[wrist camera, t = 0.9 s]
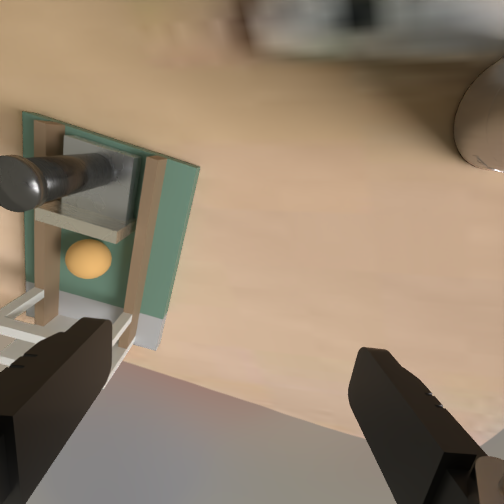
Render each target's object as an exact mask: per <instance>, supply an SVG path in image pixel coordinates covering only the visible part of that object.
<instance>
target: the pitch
mask: <svg viewBox="0 0 504 504" xmlns="http://www.w3.org/2000/svg"><path fill="white" fill-rule="evenodd" d="M22 121H23V157H24V158H30V157H44V156H57V155H63V147H64V135H76V136H79V137H83V138H86V139H89V140H92V141H95V142H98V143H101V144H104V145H107V146H110V147H113V148H116V149H119V150H123V151H126V152H129V153H132V154H135V155H138V156H141V157H142V159H141V166H140V173H139V180H138V187H137V194H136V201H135V208H134V215H133V218H137V224H136V230H135V231H134V232H133V233H131V234H130V235H128V236H127V237H125V238H124V239H122V240H121V241H120V242H118V243H117V244H114V243H110V242H107V241H104V240H100V239H97V238H94V237H90V236H87V235H84V234H80V233H77V232H74V231H70V230H67V229H63V228H60V227H57V226H53V225H50V224H47V223H43V222H40V221H37V220H35V209H32V210H28V211H25V212H24V223H25V274H26V293H24V294H23V295H21V296H20V297H18V298H17V299H15V300H13V301H12V302H10V303H9V304H7V305H6V306H4V307H2V308H1V309H0V334H1V335H6V336H9V337H13V338H16V340H14V341H13V342H12V343H10V344H9V345H8V346H7V347H5V348H4V349H3V350H2V351H0V363H1V364H4V365H8V366H10V364H11V363H13V362H14V361H15V360H16V359H18V358H19V357H20V356H23V355H24V353H25V352H27V351H28V350H29V349H30V348H32V347H33V346H34V345H35V344H37V343H38V342H39V341H41V340H43V339H45V338H47V337H49V336H52V335H54V334H56V333H58V332H65V331H67V330H68V329H69V328H70V327H71V326H72V325H74V324H75V323H76V322H77V321H78V320H79V319H81V318H83V317H90V318H99V319H109V320H111V322H112V366H111V371H110V374H109V377H108V380H107V382H106V384H107V383H108V382H109V380H110V379H111V377H112V376H113V374H114V372H115V371H116V369H117V368H118V366H119V365H120V363H121V362H122V360H123V359H124V357H125V356H126V354H127V352H128V351H129V349H130V348H131V346H132V345H137V346H140V347H144V348H148V349H151V350H155V351H156V350H157V348H158V346H159V344H160V341H161V337H162V333H163V328H164V324H165V319H166V315H167V311H168V306H169V302H170V298H171V293H172V289H173V284H174V280H175V276H176V271H177V267H178V262H179V258H180V254H181V249H182V245H183V241H184V236H185V232H186V227H187V223H188V219H189V214H190V210H191V205H192V201H193V197H194V192H195V188H196V184H197V179H198V175H199V170H200V167H199V166H196V165H193V164H190V163H187V162H184V161H181V160H178V159H175V158H172V157H169V156H166V155H163V154H160V153H156V152H153V151H150V150H147V149H144V148H141V147H138V146H135V145H132V144H129V143H126V142H123V141H120V140H117V139H114V138H111V137H108V136H105V135H102V134H98V133H95V132H92V131H89V130H86V129H83V128H80V127H77V126H74V125H71V124H68V123H65V122H62V121H59V120H56V119H53V118H50V117H47V116H43V115H40V114H37V113H32V112H24V111H22ZM60 199H62V198H58V199H55V200H51V201H47V202H45V203H44V204H46V203H50V202H53V201H57V200H60ZM84 239H94V240H98V241H100V242H102V243H103V244H105V245H106V246H107V247H108V249H109V250H110V252H111V256H112V262H111V265H110V267H109V269H108V270H107V271H106V272H105V273H104V274H103V275H101V276H99V277H97V278H93V279H83V278H79V277H77V276H75V275H73V274H72V273H71V272H70V271H69V270H68V268H67V266H66V263H65V255H66V252H67V250H68V249H69V247H70V246H71V245H72V244H74V243H75V242H77V241H80V240H84ZM24 311H26V316H30V317H34V318H35V324H34V325H33V324H29V323H26V322H22V321H18V320H15V318H16V317H17V316H19V315H20V314H22V313H23V312H24ZM106 384H105V385H104V387H103V388H102V390H103V389H104V388H105V386H106Z"/></svg>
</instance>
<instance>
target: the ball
mask: <svg viewBox="0 0 504 504" xmlns="http://www.w3.org/2000/svg"><path fill="white" fill-rule="evenodd" d="M111 262H112V256H111V252H110V250H109V249H108V247H107V246H106V245H105V244H103V243H102V242H100V241H98V240H94V239H84V240H80V241H77V242H75V243H74V244H72V245H71V246H70V247H69V249H68V250H67V252H66V255H65V263H66V266H67V268H68V270H69V271H70V272H71V273H72V274H73V275H75V276H77V277H79V278H83V279H93V278H97V277H99V276H101V275H103V274H104V273H105V272H106V271H107V270H108V269H109V267H110V265H111Z"/></svg>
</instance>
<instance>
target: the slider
mask: <svg viewBox="0 0 504 504" xmlns="http://www.w3.org/2000/svg"><path fill="white" fill-rule="evenodd" d="M141 159H142V157H141V156H138V155H135V154H132V153H129V152H126V151H123V150H119V149H116V148H113V147H110V146H107V145H104V144H101V143H98V142H95V141H92V140H89V139H86V138H83V137H79V136H76V135H64V147H63V155H57V156H44V157H30V158H24V157H21V156H17V155H6V156H0V206H2V207H3V208H5V209H7V210H10V211H14V212H25V211H28V210H32V209H35V220H37V221H40V222H43V223H47V224H50V225H53V226H57V227H60V228H63V229H67V230H70V231H74V232H77V233H80V234H84V235H87V236H90V237H94V238H97V239H100V240H104V241H107V242H110V243H114V244H117V243H118V242H120V241H121V240H122V239H124V238H125V237H127V236H128V235H130V234H131V233H133V232H134V231H135V230H136V224H137V218H133V215H134V208H135V201H136V194H137V187H138V180H139V173H140V166H141ZM58 198H62V199H60V200H57V201H53V202H50V203H46V204H44V203H45V202H47V201H51V200H55V199H58Z"/></svg>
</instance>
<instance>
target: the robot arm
mask: <svg viewBox="0 0 504 504" xmlns="http://www.w3.org/2000/svg"><path fill="white" fill-rule="evenodd" d="M454 139H455V143H456V146H457V149H458V151H459V152H460V154H461V156H462V157H463V158H464V159H465V160H466V161H467V162H468V163H470V164H472V165H474V166H476V167H478V168H482V169H486V170H493V171H497V172H504V57H503V58H502V59H500V60H499V61H498V62H496V63H495V64H493V65H492V66H490V67H489V68H487V69H486V70H485V71H484V72H483V73H482V74H481V75H480V76H479V77H478V78H476V80H475V81H474V82H473V83H472V85H471V86H470V87H469V89H468V90H467V91H466V93H465V95H464V97H463V99H462V100H461V102H460V105H459V107H458V110H457V113H456V117H455V123H454ZM111 366H112V322H111V320H109V319H99V318H90V317H83V318H81V319H79V320H78V321H77V322H76V323H75V324H74V325H72V326H71V327H70V328H69V329H68V330H67V331H65V332H58V333H56V334H54V335H52V336H49V337H47V338H45V339H43V340H41V341H39V342H38V343H37V344H35V345H34V346H33V347H32V348H30V349H29V350H28V351H27V352H25V353H24V355H23V356H20V357H19V358H18V359H16V360H15V361H14V362H13V363H11V364H10V367H9V368H8V367H6V368H5V369H4V370H3V371H2V372H0V504H26V502H27V501H28V499H29V498H30V496H31V495H32V493H33V492H34V490H35V489H36V487H37V486H38V484H39V483H40V481H41V480H42V478H43V477H44V475H45V474H46V472H47V471H48V469H49V468H50V466H51V464H52V463H53V462H54V460H55V459H56V457H57V456H58V454H59V453H60V451H61V450H62V448H63V447H64V445H65V444H66V442H67V441H68V439H69V438H70V436H71V435H72V433H73V432H74V430H75V429H76V427H77V426H78V424H79V423H80V421H81V420H82V418H83V417H84V415H85V414H86V412H87V411H88V409H89V408H90V406H91V405H92V403H93V402H94V400H95V399H96V397H97V396H98V394H99V393H100V391H101V390H102V388H103V387H104V385H105V384H106V382H107V380H108V377H109V374H110V371H111ZM348 398H349V403H350V406H351V409H352V411H353V413H354V415H355V417H356V419H357V421H358V423H359V426H360V428H361V430H362V432H363V434H364V436H365V438H366V440H367V442H368V444H369V446H370V448H371V451H372V453H373V455H374V457H375V459H376V461H377V463H378V465H379V467H380V469H381V471H382V473H383V475H384V478H385V480H386V482H387V484H388V486H389V488H390V490H391V492H392V494H393V496H394V498H395V501H396V503H397V504H504V460H501V459H499V458H496V457H491V456H488V455H487V454H486V453H485V452H484V451H483V450H482V449H481V448H480V447H479V445H478V444H477V443H476V442H475V441H474V440H473V439H472V438H471V436H470V435H469V434H468V433H467V432H466V431H465V430H464V429H463V427H462V426H461V425H460V424H459V423H458V422H457V421H456V420H455V419H454V417H453V416H452V415H451V414H450V413H449V412H448V411H447V410H446V409H445V408H443V405H442V404H441V403H440V402H439V401H438V399H437V398H436V397H435V396H432V393H431V392H430V391H429V389H428V388H427V387H426V386H425V385H424V384H423V383H422V382H421V380H420V379H418V378H417V377H416V376H414V375H413V374H412V373H410V372H409V371H408V370H406V369H405V368H403V367H402V366H401V365H400V364H399V363H398V362H397V361H396V359H395V358H394V357H393V356H392V355H391V354H390V352H389V351H387V350H385V349H376V348H367V347H362V348H361V349H360V350H359V352H358V354H357V358H356V362H355V365H354V369H353V373H352V376H351V380H350V383H349V388H348Z"/></svg>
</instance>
